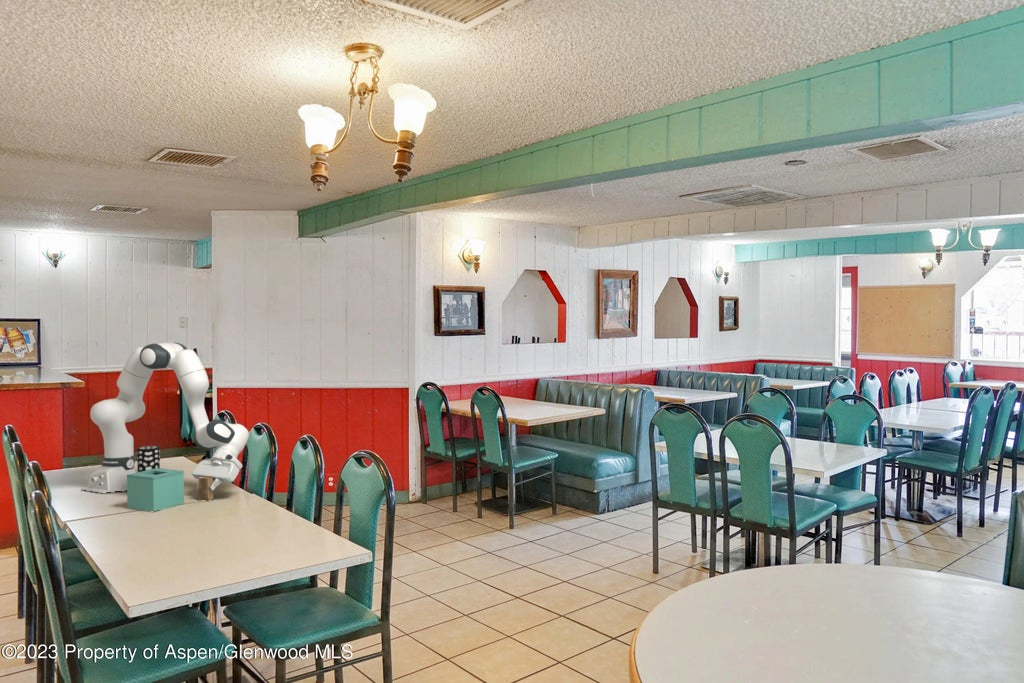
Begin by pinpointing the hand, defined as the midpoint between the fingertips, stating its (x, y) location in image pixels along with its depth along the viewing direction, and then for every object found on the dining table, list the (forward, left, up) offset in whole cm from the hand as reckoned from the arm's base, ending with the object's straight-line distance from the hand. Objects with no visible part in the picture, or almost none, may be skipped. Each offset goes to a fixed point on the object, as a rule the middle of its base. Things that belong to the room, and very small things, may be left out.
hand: (204, 488), depth 292 cm
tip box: (-12, -13, -5) cm, 18 cm away
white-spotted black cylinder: (-27, 0, -5) cm, 27 cm away
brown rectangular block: (0, +1, -5) cm, 5 cm away
